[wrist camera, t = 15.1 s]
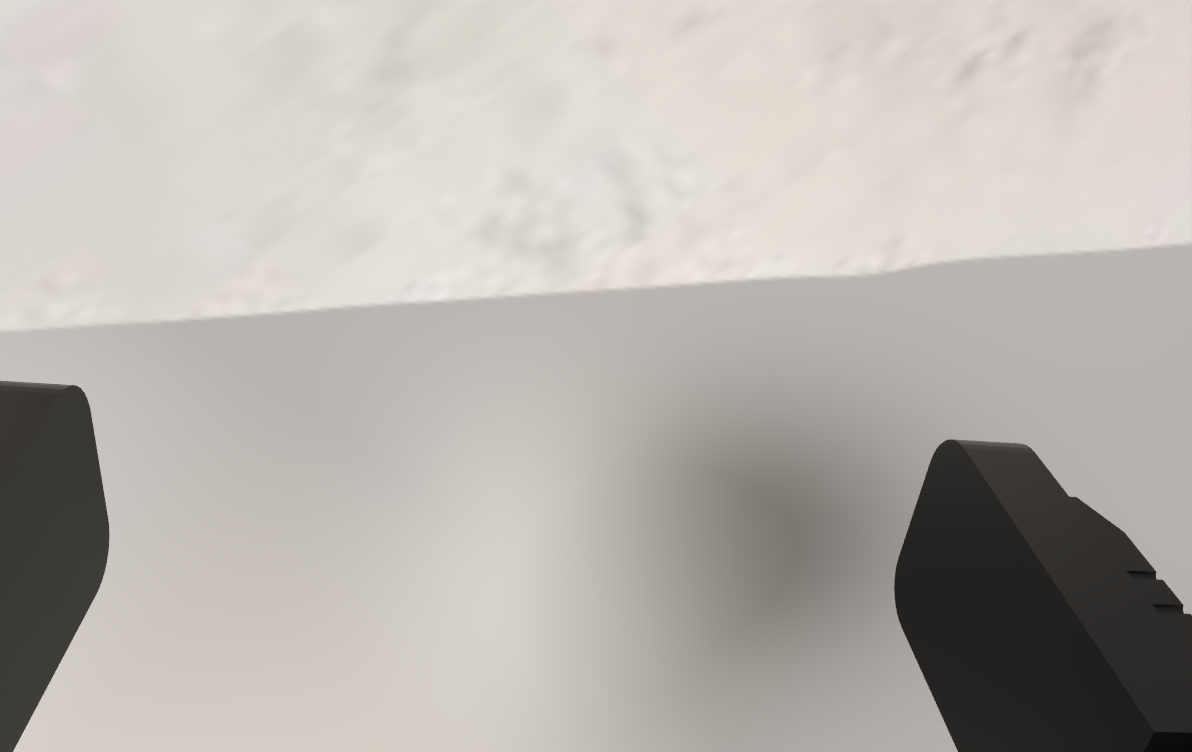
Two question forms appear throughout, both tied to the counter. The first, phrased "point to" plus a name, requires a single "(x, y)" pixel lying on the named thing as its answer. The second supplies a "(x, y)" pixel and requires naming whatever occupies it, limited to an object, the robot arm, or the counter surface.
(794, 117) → the counter surface
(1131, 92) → the counter surface
